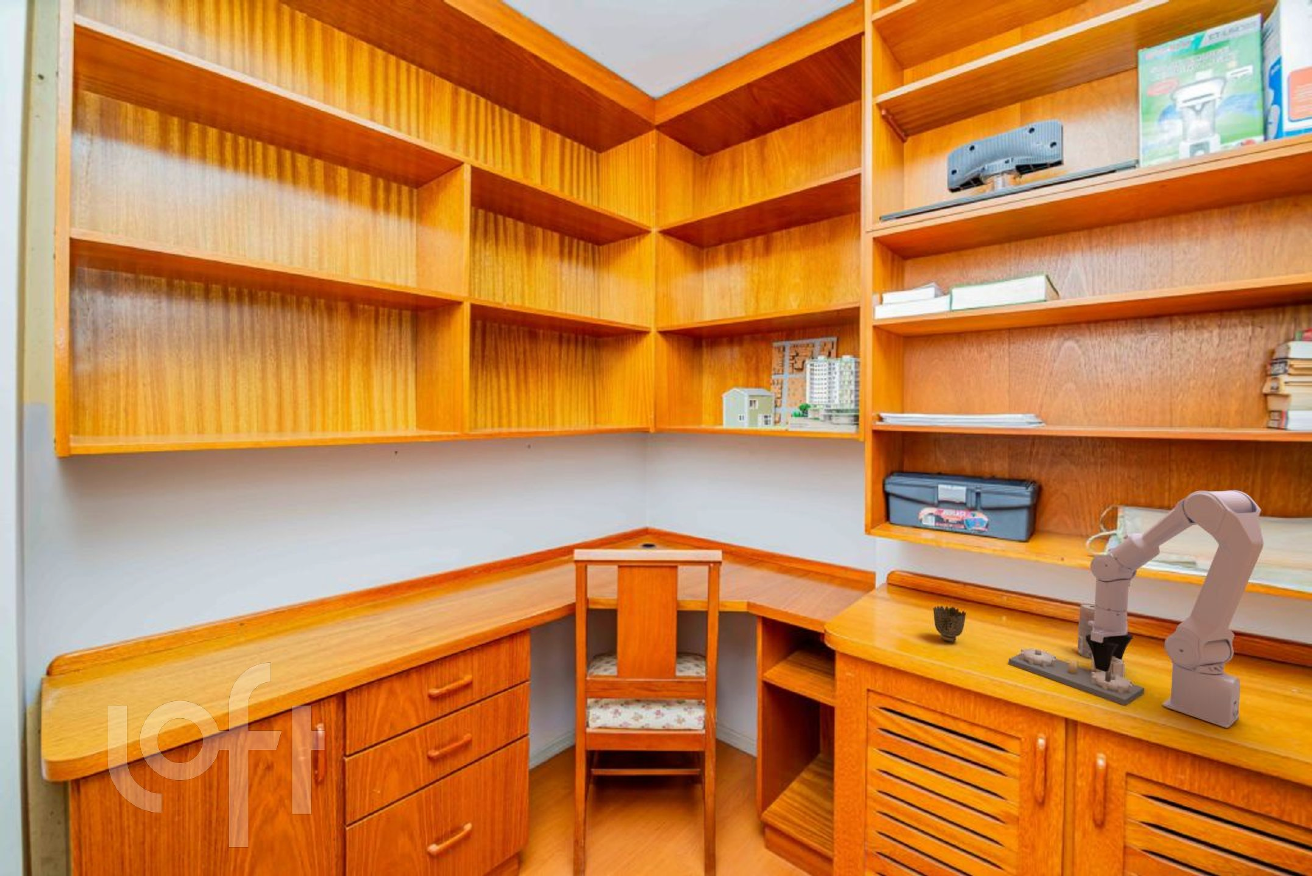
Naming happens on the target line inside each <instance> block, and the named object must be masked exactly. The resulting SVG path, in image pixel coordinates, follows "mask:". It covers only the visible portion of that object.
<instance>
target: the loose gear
mask: <svg viewBox="0 0 1312 876" xmlns="http://www.w3.org/2000/svg"><path fill="white" fill-rule="evenodd" d="M1125 666H1126V663H1125V660H1124V659H1122V660H1120V659H1118V658H1116V657H1115V656H1112V659H1111V664H1110V668H1109V670H1108V672H1110V673H1111V674H1115V675H1116V674H1117V675H1120V676H1121V677H1123V678H1125V673H1126V672H1125V670H1126V669H1125V668H1126V667H1125ZM1090 667H1091V670H1092V671H1095V672H1101V671H1102V670H1099V669H1096V667H1095V663H1094V658H1093V654H1092V659H1091V666H1090ZM1104 672H1105V671H1104Z"/></svg>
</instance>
